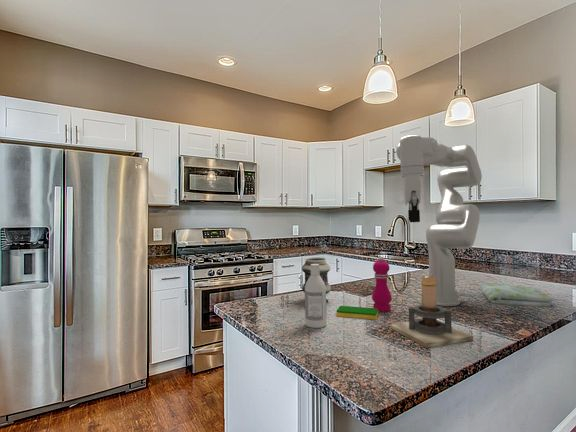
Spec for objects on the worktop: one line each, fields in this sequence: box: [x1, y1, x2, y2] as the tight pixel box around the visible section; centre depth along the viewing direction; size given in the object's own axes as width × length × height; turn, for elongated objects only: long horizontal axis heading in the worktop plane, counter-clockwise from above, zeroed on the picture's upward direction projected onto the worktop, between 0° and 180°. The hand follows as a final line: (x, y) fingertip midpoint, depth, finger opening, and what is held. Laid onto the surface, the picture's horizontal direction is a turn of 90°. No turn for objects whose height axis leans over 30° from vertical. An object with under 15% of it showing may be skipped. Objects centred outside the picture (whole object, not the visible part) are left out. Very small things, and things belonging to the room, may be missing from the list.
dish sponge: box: [335, 305, 379, 321], centre depth 117 cm, size 7×14×2 cm, turn 69°
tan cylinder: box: [420, 274, 438, 327], centre depth 97 cm, size 4×4×16 cm
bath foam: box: [304, 264, 327, 329], centre depth 107 cm, size 7×7×20 cm
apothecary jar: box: [301, 257, 332, 304], centre depth 136 cm, size 12×12×18 cm
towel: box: [480, 282, 554, 308], centre depth 134 cm, size 18×21×5 cm
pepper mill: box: [371, 256, 393, 312], centre depth 123 cm, size 7×7×20 cm
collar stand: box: [390, 304, 474, 349], centre depth 97 cm, size 16×16×8 cm
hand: (414, 221), depth 114 cm, fingers open, 9 cm apart
